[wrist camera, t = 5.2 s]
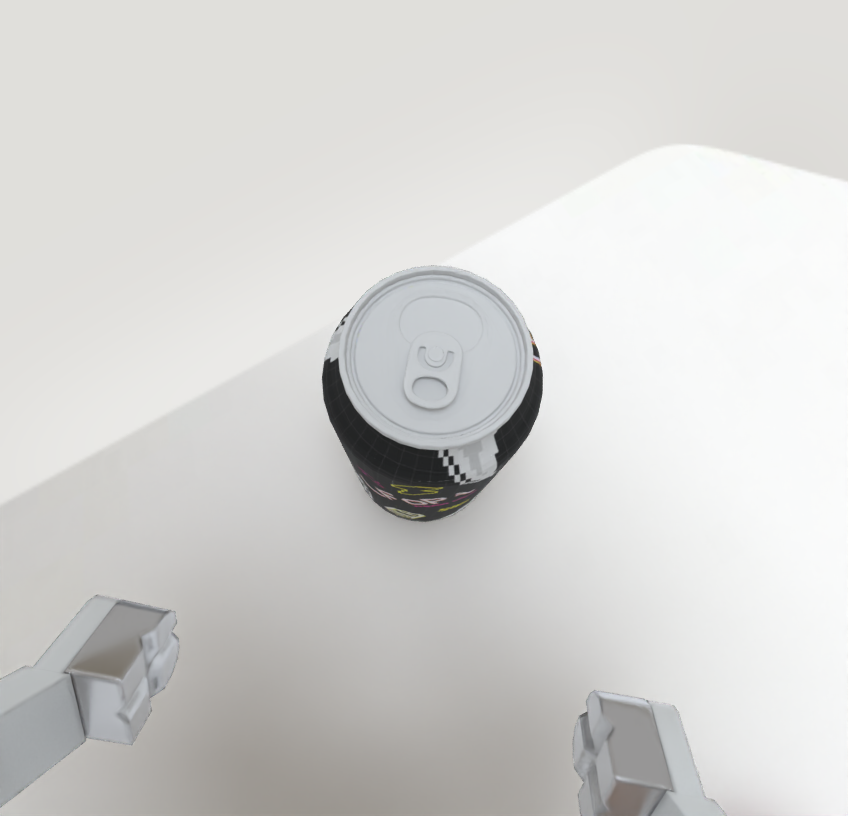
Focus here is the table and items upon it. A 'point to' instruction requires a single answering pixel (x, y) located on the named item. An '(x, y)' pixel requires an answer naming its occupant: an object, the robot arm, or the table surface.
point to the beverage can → (431, 388)
